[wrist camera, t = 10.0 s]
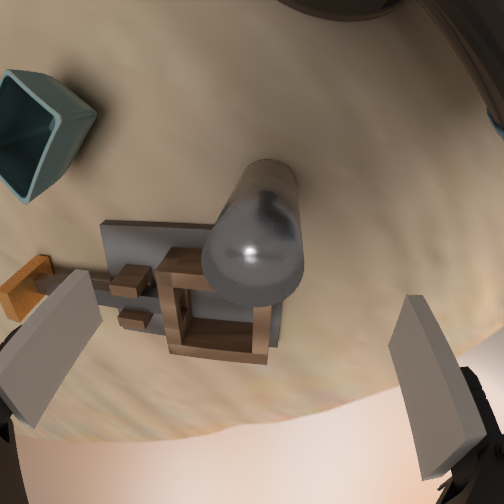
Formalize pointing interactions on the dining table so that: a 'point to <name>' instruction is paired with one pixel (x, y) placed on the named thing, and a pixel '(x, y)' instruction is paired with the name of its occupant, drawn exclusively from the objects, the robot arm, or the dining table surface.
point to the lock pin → (45, 282)
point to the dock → (183, 293)
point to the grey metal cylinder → (257, 239)
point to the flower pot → (38, 131)
